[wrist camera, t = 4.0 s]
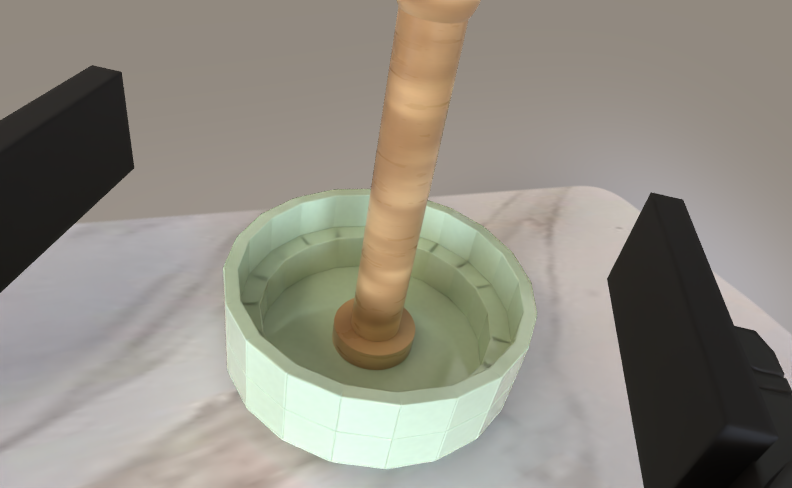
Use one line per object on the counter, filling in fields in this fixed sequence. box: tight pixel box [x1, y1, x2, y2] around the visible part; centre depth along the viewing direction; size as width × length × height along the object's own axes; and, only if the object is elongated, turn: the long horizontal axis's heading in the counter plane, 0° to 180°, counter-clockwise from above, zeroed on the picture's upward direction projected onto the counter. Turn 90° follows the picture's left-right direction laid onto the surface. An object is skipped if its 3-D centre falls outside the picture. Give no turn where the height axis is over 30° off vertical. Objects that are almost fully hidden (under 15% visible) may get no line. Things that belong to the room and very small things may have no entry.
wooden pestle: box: [332, 0, 481, 370], centre depth 26 cm, size 4×4×20 cm
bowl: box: [223, 189, 537, 469], centre depth 31 cm, size 15×15×6 cm
